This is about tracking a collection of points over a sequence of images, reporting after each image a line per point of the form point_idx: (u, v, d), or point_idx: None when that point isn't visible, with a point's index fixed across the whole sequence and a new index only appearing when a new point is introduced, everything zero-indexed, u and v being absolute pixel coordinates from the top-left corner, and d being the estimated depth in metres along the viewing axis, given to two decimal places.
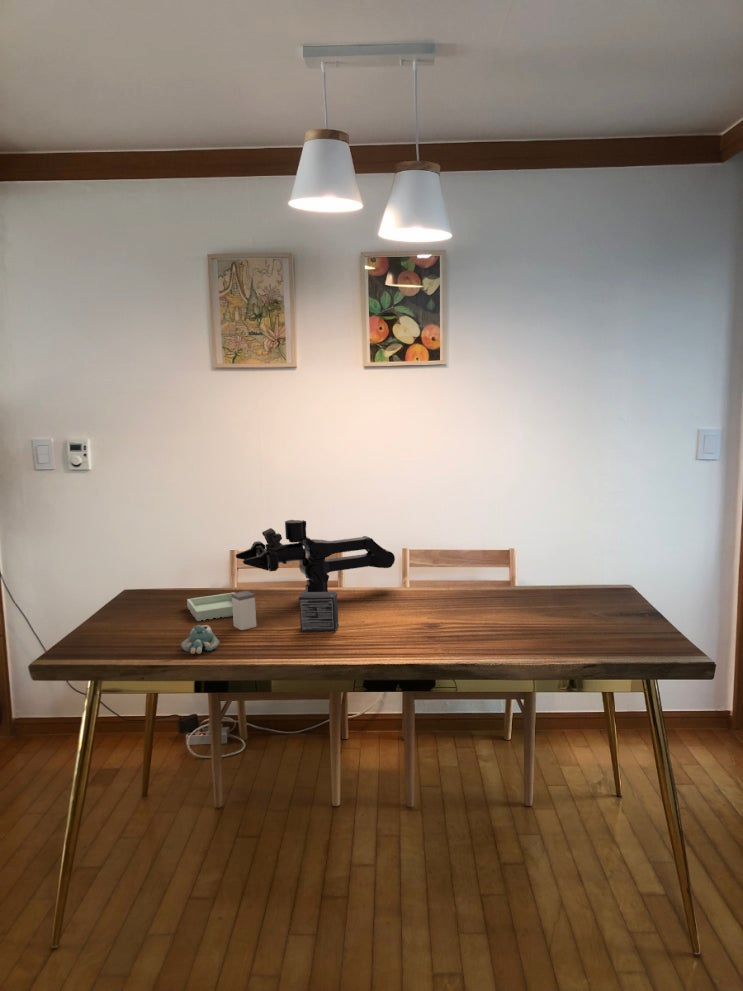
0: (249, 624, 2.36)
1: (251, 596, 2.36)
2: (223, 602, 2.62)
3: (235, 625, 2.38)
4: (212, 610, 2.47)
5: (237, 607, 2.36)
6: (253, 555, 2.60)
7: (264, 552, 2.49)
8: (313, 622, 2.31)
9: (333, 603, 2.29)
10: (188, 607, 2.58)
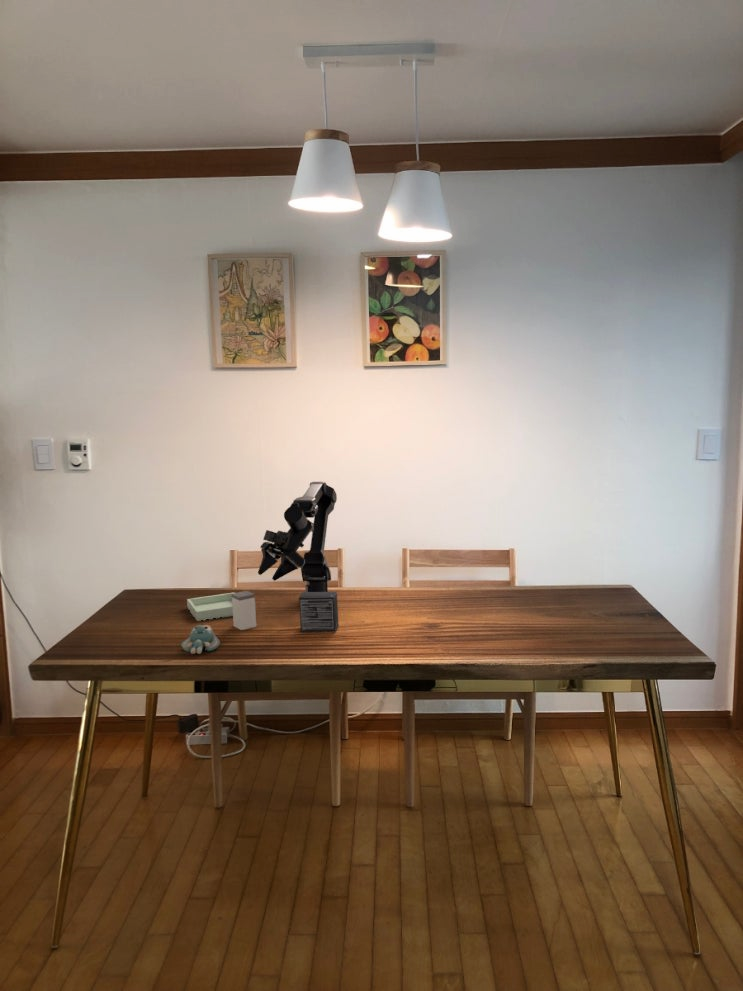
0: (249, 624, 2.36)
1: (251, 596, 2.36)
2: (223, 602, 2.62)
3: (235, 625, 2.38)
4: (212, 610, 2.47)
5: (237, 607, 2.36)
6: (270, 559, 2.47)
7: (283, 558, 2.36)
8: (313, 622, 2.31)
9: (333, 603, 2.29)
10: (188, 607, 2.58)
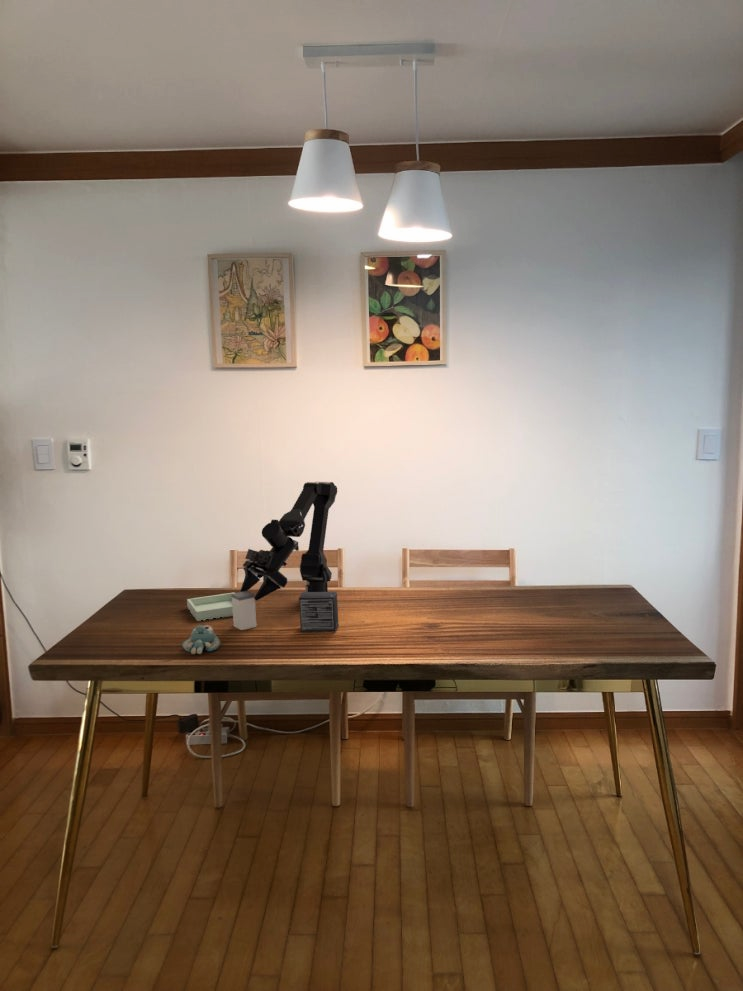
0: (249, 624, 2.36)
1: (251, 596, 2.36)
2: (223, 602, 2.62)
3: (235, 625, 2.38)
4: (212, 610, 2.47)
5: (237, 607, 2.36)
6: (253, 578, 2.44)
7: (265, 577, 2.33)
8: (313, 622, 2.31)
9: (333, 603, 2.29)
10: (188, 607, 2.58)
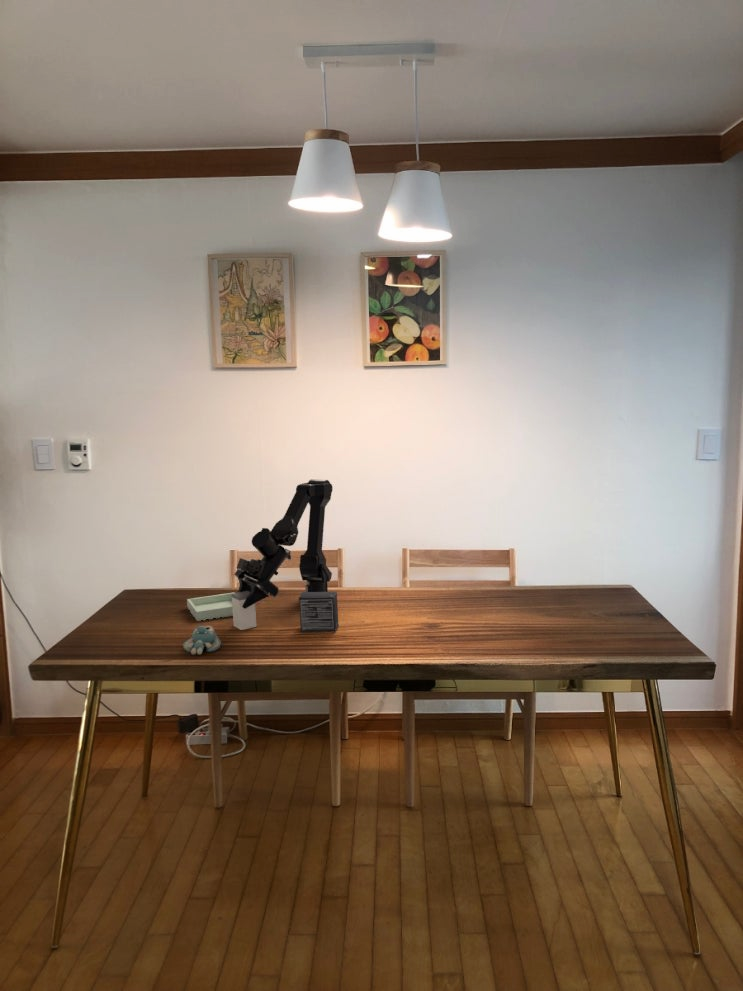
0: (249, 624, 2.36)
1: None
2: (223, 602, 2.62)
3: (235, 625, 2.38)
4: (212, 610, 2.47)
5: (237, 607, 2.36)
6: (247, 588, 2.41)
7: (253, 586, 2.34)
8: (313, 622, 2.31)
9: (333, 603, 2.29)
10: (188, 607, 2.58)
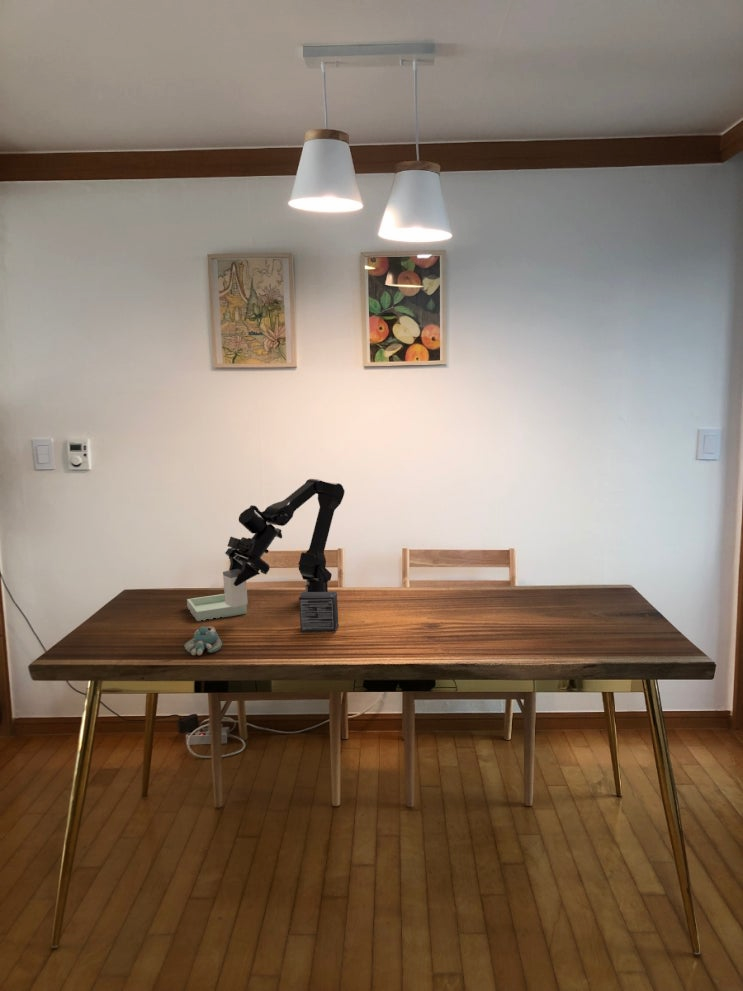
0: (240, 601, 2.40)
1: None
2: (223, 602, 2.62)
3: (227, 602, 2.42)
4: (212, 610, 2.47)
5: (228, 585, 2.39)
6: (238, 566, 2.45)
7: (244, 563, 2.37)
8: (313, 622, 2.31)
9: (333, 603, 2.29)
10: (188, 607, 2.58)
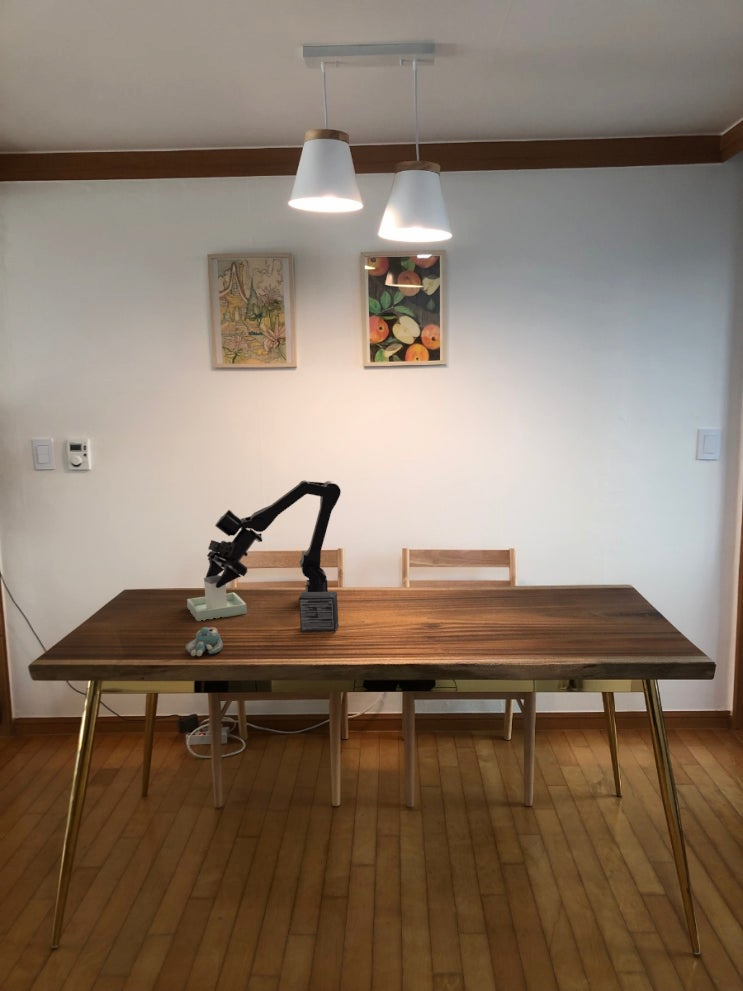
0: (220, 606, 2.53)
1: None
2: None
3: (207, 607, 2.55)
4: (212, 610, 2.47)
5: (208, 590, 2.52)
6: (217, 568, 2.59)
7: (225, 566, 2.49)
8: (313, 622, 2.31)
9: (333, 603, 2.29)
10: (188, 607, 2.58)
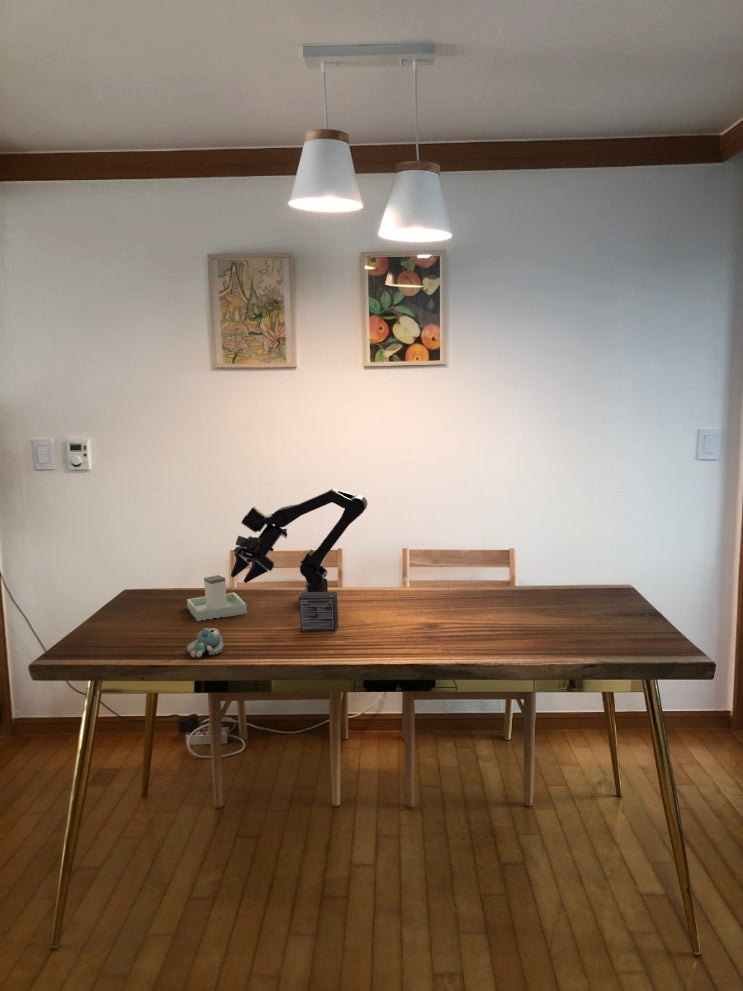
0: (220, 606, 2.53)
1: (222, 580, 2.52)
2: None
3: (207, 607, 2.55)
4: (212, 610, 2.47)
5: (208, 590, 2.52)
6: (243, 563, 2.64)
7: (253, 562, 2.54)
8: (313, 622, 2.31)
9: (333, 603, 2.29)
10: (188, 607, 2.58)
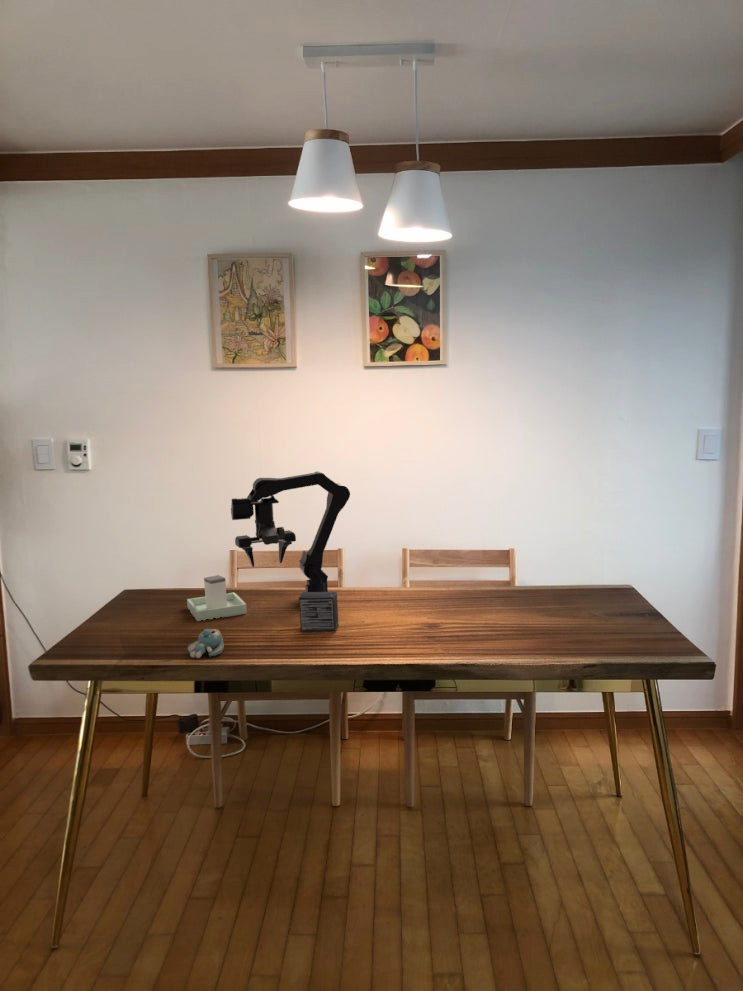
0: (220, 606, 2.53)
1: (222, 580, 2.52)
2: None
3: (207, 607, 2.55)
4: (212, 610, 2.47)
5: (208, 590, 2.52)
6: None
7: (287, 544, 2.58)
8: (313, 622, 2.31)
9: (333, 603, 2.29)
10: (188, 607, 2.58)
